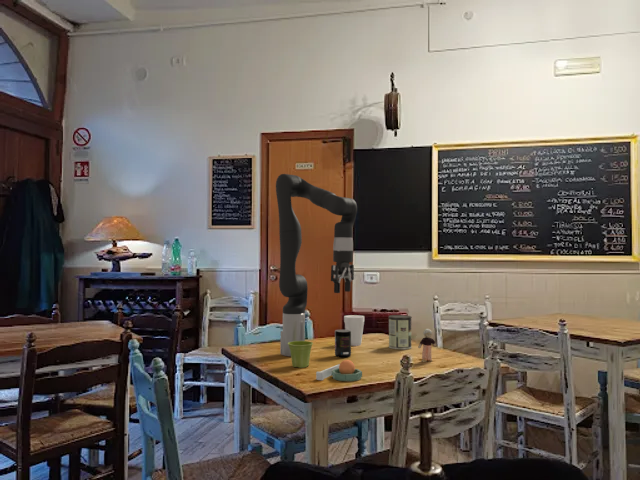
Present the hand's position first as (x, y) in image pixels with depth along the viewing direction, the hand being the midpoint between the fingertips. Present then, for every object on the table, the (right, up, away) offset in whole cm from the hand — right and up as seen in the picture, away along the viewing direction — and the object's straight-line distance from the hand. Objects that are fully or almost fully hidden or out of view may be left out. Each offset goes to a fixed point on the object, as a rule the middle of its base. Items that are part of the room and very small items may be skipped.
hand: (342, 292), depth 192 cm
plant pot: (-16, -27, -4) cm, 32 cm away
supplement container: (+1, -28, +15) cm, 32 cm away
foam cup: (+7, -29, +43) cm, 52 cm away
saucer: (+1, -27, -21) cm, 34 cm away
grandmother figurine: (+34, -28, +7) cm, 45 cm away
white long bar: (-4, -27, -16) cm, 32 cm away
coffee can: (+28, -29, +36) cm, 54 cm away
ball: (+1, -24, -21) cm, 32 cm away
